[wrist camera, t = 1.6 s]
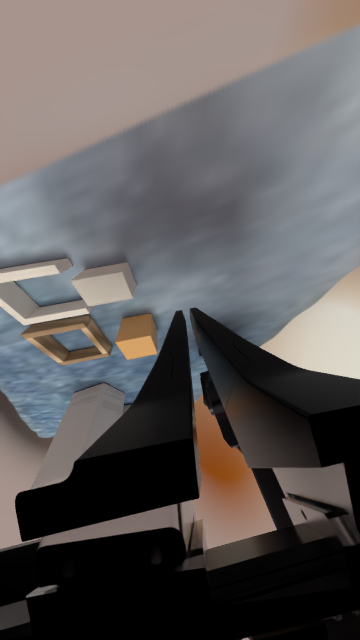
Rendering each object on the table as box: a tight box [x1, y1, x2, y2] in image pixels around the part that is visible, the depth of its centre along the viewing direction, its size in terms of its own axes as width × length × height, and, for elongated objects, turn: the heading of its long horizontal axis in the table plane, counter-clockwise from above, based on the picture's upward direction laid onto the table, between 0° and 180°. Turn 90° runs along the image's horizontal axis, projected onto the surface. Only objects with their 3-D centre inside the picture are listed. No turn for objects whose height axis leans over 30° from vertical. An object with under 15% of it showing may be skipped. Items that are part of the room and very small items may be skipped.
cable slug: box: [71, 262, 136, 306], centre depth 15 cm, size 3×5×4 cm, turn 97°
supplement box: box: [31, 383, 125, 489], centre depth 28 cm, size 9×9×15 cm
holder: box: [21, 315, 113, 365], centre depth 20 cm, size 8×8×2 cm
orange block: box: [115, 313, 158, 360], centre depth 19 cm, size 4×4×5 cm
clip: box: [0, 258, 95, 325], centre depth 15 cm, size 6×8×2 cm
